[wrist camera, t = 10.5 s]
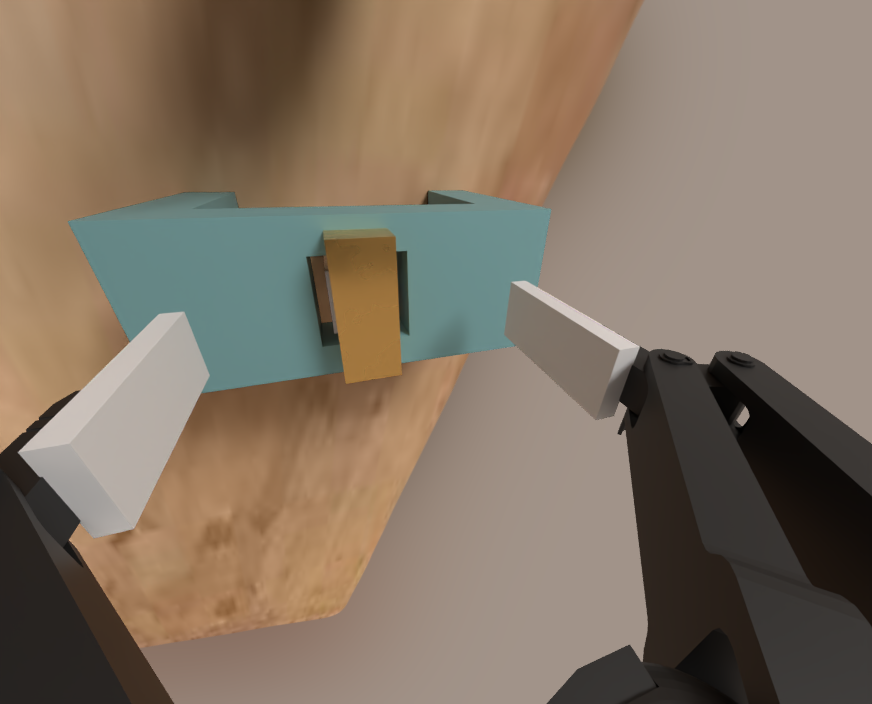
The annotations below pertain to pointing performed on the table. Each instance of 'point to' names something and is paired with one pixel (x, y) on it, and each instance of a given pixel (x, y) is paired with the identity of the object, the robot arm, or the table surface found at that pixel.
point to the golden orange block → (364, 301)
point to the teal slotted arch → (309, 275)
